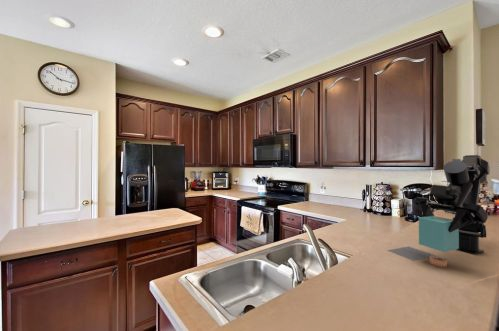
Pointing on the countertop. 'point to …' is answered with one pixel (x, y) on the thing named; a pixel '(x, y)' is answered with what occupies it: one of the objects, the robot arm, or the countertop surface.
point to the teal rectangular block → (437, 234)
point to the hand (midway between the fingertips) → (435, 228)
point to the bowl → (438, 261)
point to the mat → (411, 253)
